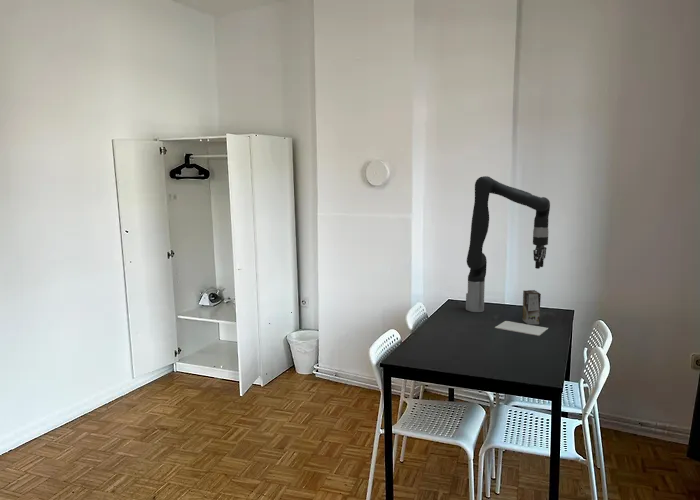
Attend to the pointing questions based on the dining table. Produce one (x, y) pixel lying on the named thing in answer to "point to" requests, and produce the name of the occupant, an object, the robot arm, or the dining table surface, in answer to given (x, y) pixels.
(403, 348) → the dining table surface
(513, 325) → the grey mat
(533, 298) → the coffee box
